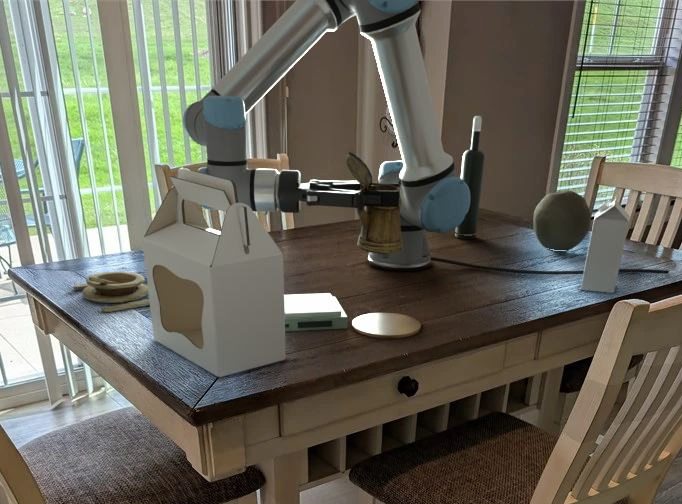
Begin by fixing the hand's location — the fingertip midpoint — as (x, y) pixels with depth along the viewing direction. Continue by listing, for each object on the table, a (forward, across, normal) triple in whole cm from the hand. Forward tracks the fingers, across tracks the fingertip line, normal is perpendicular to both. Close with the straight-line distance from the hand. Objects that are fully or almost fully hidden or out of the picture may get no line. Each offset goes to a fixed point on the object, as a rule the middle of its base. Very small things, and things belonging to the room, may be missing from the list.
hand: (398, 195), depth 138 cm
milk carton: (+46, -17, -21) cm, 54 cm away
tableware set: (-50, -4, -21) cm, 55 cm away
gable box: (-30, +29, -21) cm, 47 cm away
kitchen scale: (-17, +11, -21) cm, 29 cm away
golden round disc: (-1, +14, -21) cm, 25 cm away
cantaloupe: (+44, -49, -21) cm, 69 cm away
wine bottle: (+21, -64, -21) cm, 71 cm away
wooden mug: (-5, 0, -10) cm, 11 cm away
